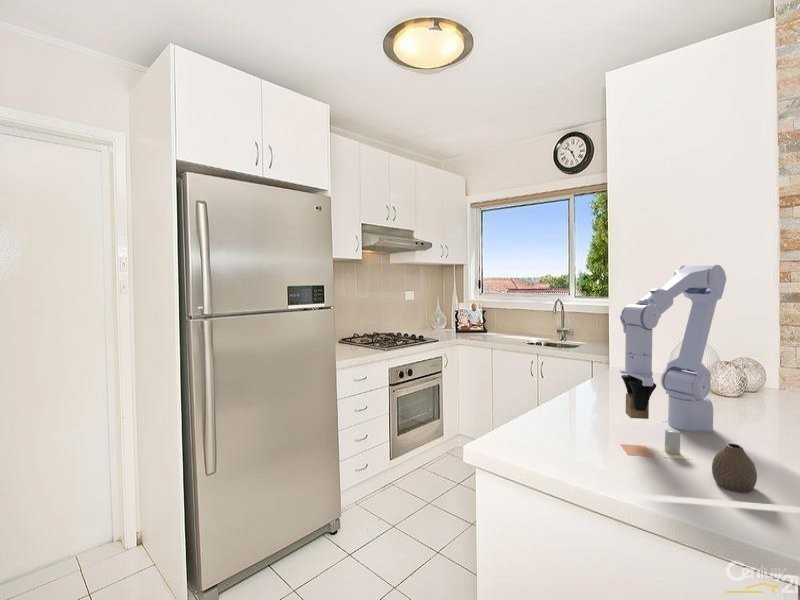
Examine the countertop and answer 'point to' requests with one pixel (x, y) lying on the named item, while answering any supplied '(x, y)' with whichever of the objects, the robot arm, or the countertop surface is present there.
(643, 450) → the mat
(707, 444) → the countertop surface
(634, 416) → the walnut block
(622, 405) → the countertop surface
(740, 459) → the vase
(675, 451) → the grey peg
